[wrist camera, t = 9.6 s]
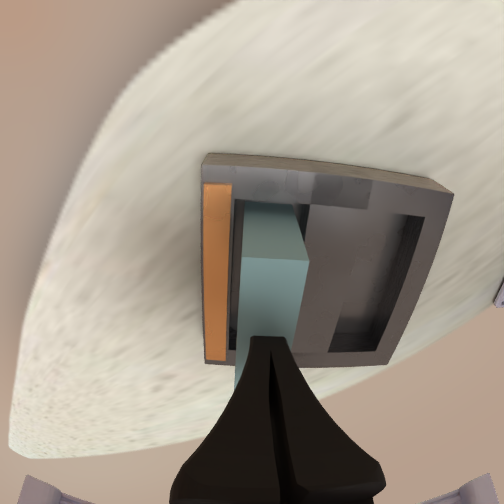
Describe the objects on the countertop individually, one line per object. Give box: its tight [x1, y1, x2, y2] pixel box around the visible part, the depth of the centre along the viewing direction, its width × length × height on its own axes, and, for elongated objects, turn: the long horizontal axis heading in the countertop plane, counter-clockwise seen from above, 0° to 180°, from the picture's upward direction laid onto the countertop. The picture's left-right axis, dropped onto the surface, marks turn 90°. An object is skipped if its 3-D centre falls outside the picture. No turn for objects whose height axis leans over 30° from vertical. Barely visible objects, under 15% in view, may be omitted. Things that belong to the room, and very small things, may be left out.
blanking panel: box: [234, 201, 309, 390], centre depth 15 cm, size 2×8×6 cm, turn 176°
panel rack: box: [201, 153, 454, 368], centre depth 17 cm, size 13×13×3 cm
